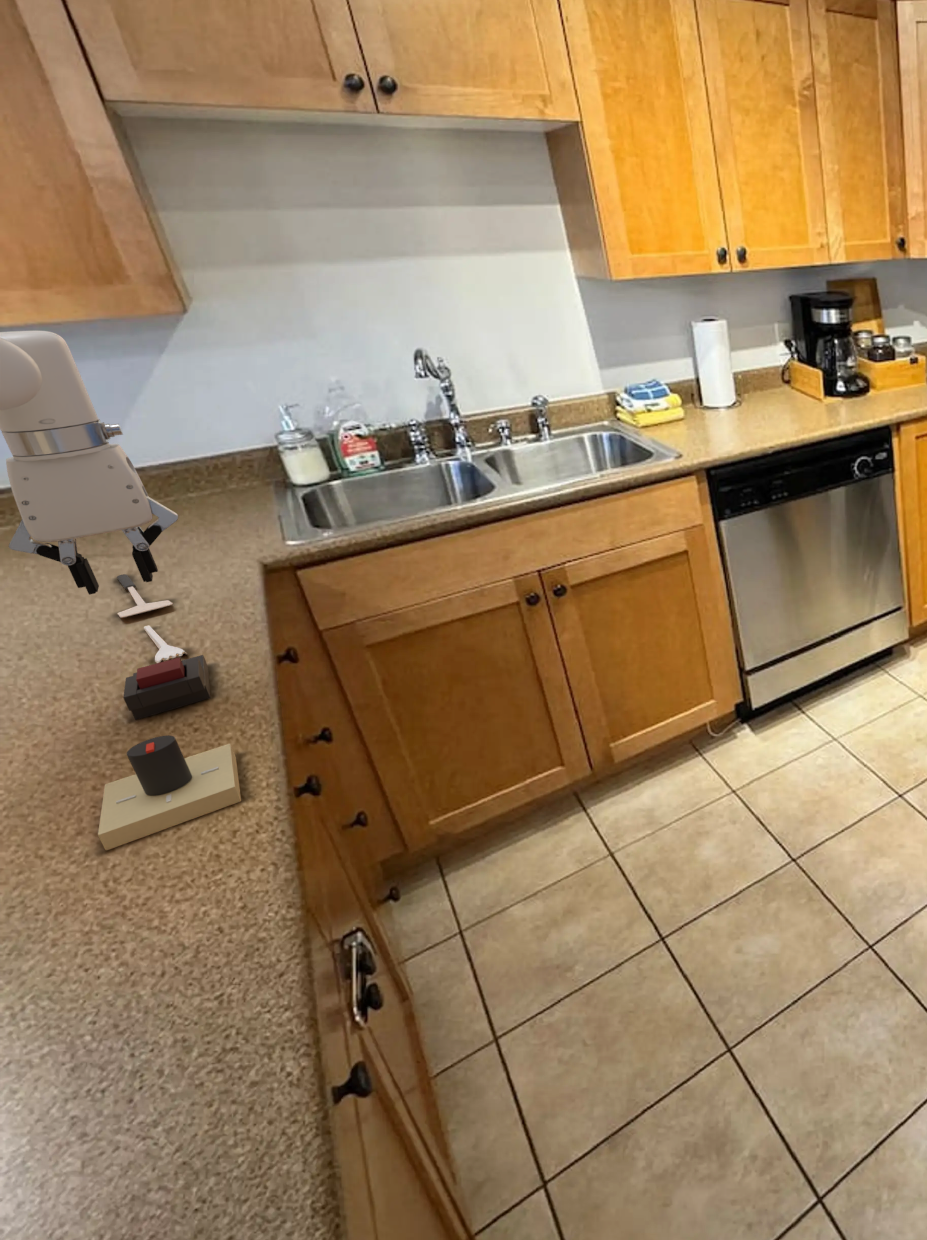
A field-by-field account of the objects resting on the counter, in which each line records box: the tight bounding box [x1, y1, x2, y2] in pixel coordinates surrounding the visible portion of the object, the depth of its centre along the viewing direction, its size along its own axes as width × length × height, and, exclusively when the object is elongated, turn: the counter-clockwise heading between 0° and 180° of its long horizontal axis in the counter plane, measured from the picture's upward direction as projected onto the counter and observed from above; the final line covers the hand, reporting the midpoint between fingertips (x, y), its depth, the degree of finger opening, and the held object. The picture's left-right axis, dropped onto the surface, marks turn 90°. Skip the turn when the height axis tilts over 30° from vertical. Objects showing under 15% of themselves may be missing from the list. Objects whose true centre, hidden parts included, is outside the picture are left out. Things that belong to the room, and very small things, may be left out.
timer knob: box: [126, 734, 192, 796], centre depth 81 cm, size 4×4×5 cm
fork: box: [143, 624, 188, 664], centre depth 116 cm, size 3×20×2 cm, turn 54°
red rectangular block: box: [136, 657, 185, 689], centre depth 100 cm, size 4×4×2 cm
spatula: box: [116, 573, 174, 619], centre depth 134 cm, size 6×29×2 cm, turn 53°
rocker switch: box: [122, 654, 211, 721], centre depth 103 cm, size 13×7×4 cm, turn 45°
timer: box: [97, 743, 242, 851], centre depth 82 cm, size 11×10×2 cm
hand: (121, 583), depth 95 cm, fingers open, 4 cm apart
